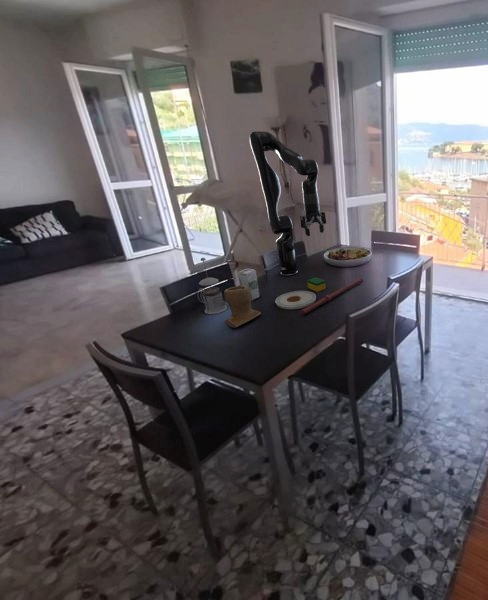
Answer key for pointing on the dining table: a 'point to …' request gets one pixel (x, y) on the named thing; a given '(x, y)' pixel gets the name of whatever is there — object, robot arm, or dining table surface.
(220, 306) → the french press
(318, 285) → the sponge
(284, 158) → the robot arm
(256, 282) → the white canister
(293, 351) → the dining table surface
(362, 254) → the bowl
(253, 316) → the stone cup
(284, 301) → the plate
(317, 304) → the rolling pin
